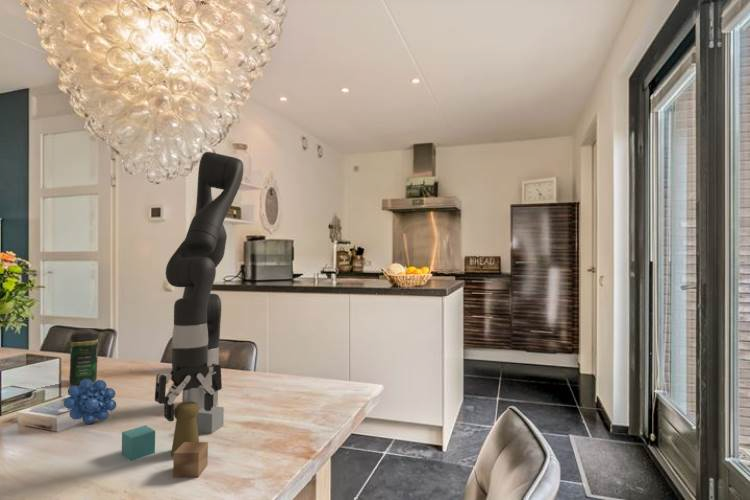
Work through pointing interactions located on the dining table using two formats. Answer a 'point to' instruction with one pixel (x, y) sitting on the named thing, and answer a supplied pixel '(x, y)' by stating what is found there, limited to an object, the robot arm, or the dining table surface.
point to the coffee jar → (83, 356)
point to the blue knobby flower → (90, 401)
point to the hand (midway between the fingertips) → (189, 415)
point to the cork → (185, 424)
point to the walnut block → (190, 460)
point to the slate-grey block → (210, 419)
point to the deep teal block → (138, 442)
